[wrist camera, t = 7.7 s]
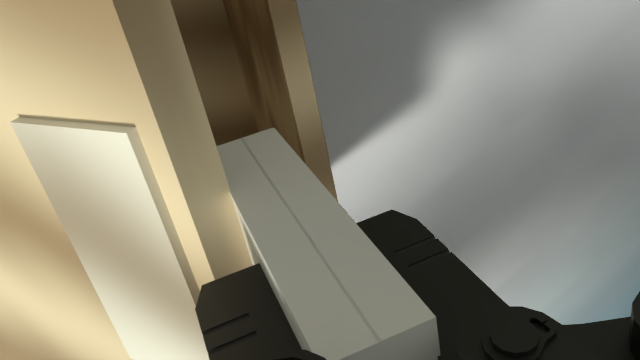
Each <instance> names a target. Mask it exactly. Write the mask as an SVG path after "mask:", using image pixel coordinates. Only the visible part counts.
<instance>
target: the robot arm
mask: <svg viewBox="0 0 640 360" xmlns="http://www.w3.org/2000/svg"><path fill="white" fill-rule="evenodd" d="M217 150H218V153H219V156H220V159H221V162H222V165H223V169H224V172H225V175H226V178H227V181H228V184H229V187H230V194H231V198H232V201H233V204H234V207H235V210H236V214H237V217H238V220H239V223H240V226H241V229H242V233H243V236H244V239H245V242H246V245H247V248H248V252H249V255H250V258H251V261H252V264H253V266H250V267H248V268H245V269H242V270H240V271H237V272H235V273H232V274H229V275H227V276H224V277H222V278H219V279H216V280H214V281H211V282H209V283H206V284H204V285H202V287H201V290H200V294H199V297H198V301H197V304H196V308H195V311H196V314H197V318H198V321H199V325H200V328H201V332H202V334H203V339H204V342H205V346H206V349H207V352H208V355H209V360H640V292H639V293H638V295H637V296H636V298H635V300H634V301H633V303H632V311H631V317H626V318H619V319H612V320H606V321H599V322H592V323H585V324H574V325H561V324H560V323H558V322H557V321H555V320H554V319H552V318H550V317H549V316H547V315H546V314H544V313H542V312H539V311H535V310H532V309H528V308H525V307H510V306H508V305H507V304H506V303H505V302H504V301H503V300H502V299H500V298H499V297H498V296H497V295H496V294H495V293H494V292H493V291H492V290H491V289H490V288H489V287H488V286H487V285H486V284H485V283H484V282H483V281H482V280H480V279H479V278H478V277H477V276H476V275H475V274H474V273H473V272H472V271H471V270H470V269H469V268H468V267H467V266H466V265H465V264H464V263H463V262H461V261H460V260H459V259H458V258H457V257H456V256H455V255H454V254H453V253H452V252H451V253H450V252H449V250H448V248H447V247H446V246H445V245H444V244H442V243H441V242H440V241H439V240H438V239H435V237H434V235H433V234H432V233H431V232H430V231H429V230H428V229H427V228H426V227H425V226H423V225H422V224H421V223H420V222H419V221H418V220H417V219H415V218H412V217H410V216H407V215H405V214H402V213H400V212H397V211H394V210H390V211H387V212H384V213H382V214H379V215H377V216H374V217H371V218H369V219H366V220H364V221H361V222H358V223H355V222H354V220H353V219H352V218H351V217H350V216H349V215H348V213H347V212H346V211H345V210H344V209H343V207H342V206H341V205H340V204H339V203H338V202H337V200H336V199H335V198H334V197H333V196H332V195H331V193H330V192H329V191H328V190H327V189H326V188H325V186H324V185H323V184H322V183H321V182H320V181H319V179H318V178H317V177H316V176H315V175H314V174H313V172H312V171H311V170H310V169H309V168H308V167H307V165H306V164H305V163H304V162H303V161H302V160H301V158H300V157H299V156H298V155H297V154H296V153H295V151H294V150H293V149H292V148H291V147H290V145H289V144H288V143H287V142H286V141H285V140H284V138H283V137H282V136H281V135H280V134H279V133H278V131H277V130H276V129H275V128H274V127H273V128H270V129H267V130H264V131H261V132H258V133H255V134H252V135H249V136H246V137H243V138H240V139H237V140H234V141H231V142H228V143H225V144H222V145H219V146H217Z"/></svg>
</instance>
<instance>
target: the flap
mask: <svg viewBox="0 0 640 360" xmlns="http://www.w3.org/2000/svg"><path fill="white" fill-rule="evenodd" d="M250 266H253V264H252V261H251V258H250V255H249V252H248V248H247V245H246V242H245V239H244V236H243V233H242V229H241V226H240V223H239V220H238V217H237V214H236V210H235V207H234V204H233V201H232V198H231V194H230V187H229V184H228V181H227V178H226V175H225V172H224V169H223V165H222V162H221V159H220V156H219V153H218V150H217V146H216V143H215V140H214V137H213V134H212V131H211V128H210V124H209V121H208V118H207V115H206V112H205V109H204V106H203V102H202V99H201V96H200V93H199V90H198V87H197V83H196V80H195V77H194V74H193V71H192V68H191V65H190V61H189V58H188V55H187V52H186V49H185V46H184V42H183V39H182V36H181V33H180V30H179V27H178V24H177V20H176V17H175V14H174V11H173V8H172V5H171V2H170V0H0V360H209V355H208V352H207V349H206V346H205V342H204V339H203V334H202V332H201V328H200V325H199V321H198V318H197V314H196V311H195V308H196V304H197V301H198V297H199V294H200V290H201V287H202V285H204V284H206V283H209V282H211V281H214V280H216V279H219V278H222V277H224V276H227V275H229V274H232V273H235V272H237V271H240V270H242V269H245V268H248V267H250Z"/></svg>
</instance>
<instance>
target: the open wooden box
mask: <svg viewBox="0 0 640 360" xmlns="http://www.w3.org/2000/svg"><path fill="white" fill-rule="evenodd" d="M170 2H171V5H172V8H173V11H174V14H175V17H176V20H177V24H178V27H179V30H180V33H181V36H182V39H183V42H184V46H185V49H186V52H187V55H188V58H189V61H190V65H191V68H192V71H193V74H194V77H195V80H196V83H197V87H198V90H199V93H200V96H201V99H202V102H203V106H204V109H205V112H206V115H207V118H208V121H209V124H210V128H211V131H212V134H213V137H214V140H215V143H216V146H219V145H222V144H225V143H228V142H231V141H234V140H237V139H240V138H243V137H246V136H249V135H252V134H255V133H258V132H261V131H264V130H267V129H270V128H273V127H274V128H275V129H276V130H277V131H278V133H279V134H280V135H281V136H282V137H283V138H284V140H285V141H286V142H287V143H288V144H289V145H290V147H291V148H292V149H293V150H294V151H295V153H296V154H297V155H298V156H299V157H300V158H301V160H302V161H303V162H304V163H305V164H306V165H307V167H308V168H309V169H310V170H311V171H312V172H313V174H314V175H315V176H316V177H317V178H318V179H319V181H320V182H321V183H322V184H323V185H324V186H325V188H326V189H327V190H328V191H329V192H330V193H331V195H332V196H333V197H334V198H335V199H336V200H337V195H336V190H335V186H334V181H333V176H332V171H331V166H330V162H329V157H328V152H327V147H326V143H325V138H324V133H323V128H322V123H321V119H320V114H319V109H318V104H317V99H316V95H315V90H314V85H313V80H312V75H311V71H310V66H309V61H308V56H307V52H306V47H305V42H304V37H303V32H302V28H301V23H300V18H299V13H298V8H297V4H296V0H170ZM337 202H338V200H337Z"/></svg>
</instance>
